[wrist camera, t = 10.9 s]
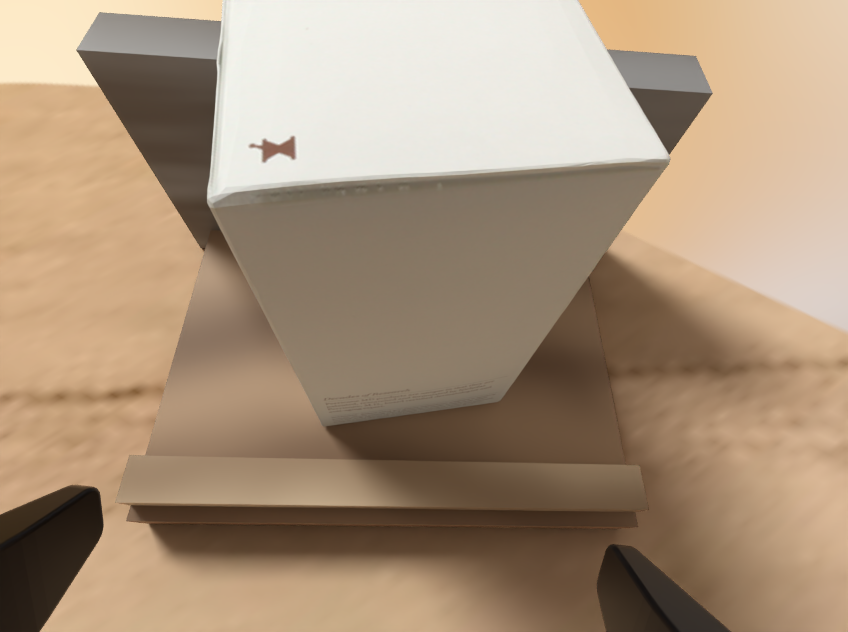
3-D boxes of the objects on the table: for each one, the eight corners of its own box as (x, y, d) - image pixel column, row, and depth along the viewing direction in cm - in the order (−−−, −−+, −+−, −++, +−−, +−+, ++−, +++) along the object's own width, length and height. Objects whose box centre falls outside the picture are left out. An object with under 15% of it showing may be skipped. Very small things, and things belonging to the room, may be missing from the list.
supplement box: (504, 406, 18) (693, 169, 7) (318, 430, 17) (180, 203, 6) (469, 256, 21) (556, -68, 10) (311, 270, 20) (215, -71, 9)
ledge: (643, 529, 18) (901, 508, 9) (119, 523, 16) (-197, 492, 8) (584, 235, 24) (695, 56, 15) (210, 217, 23) (99, 12, 14)
